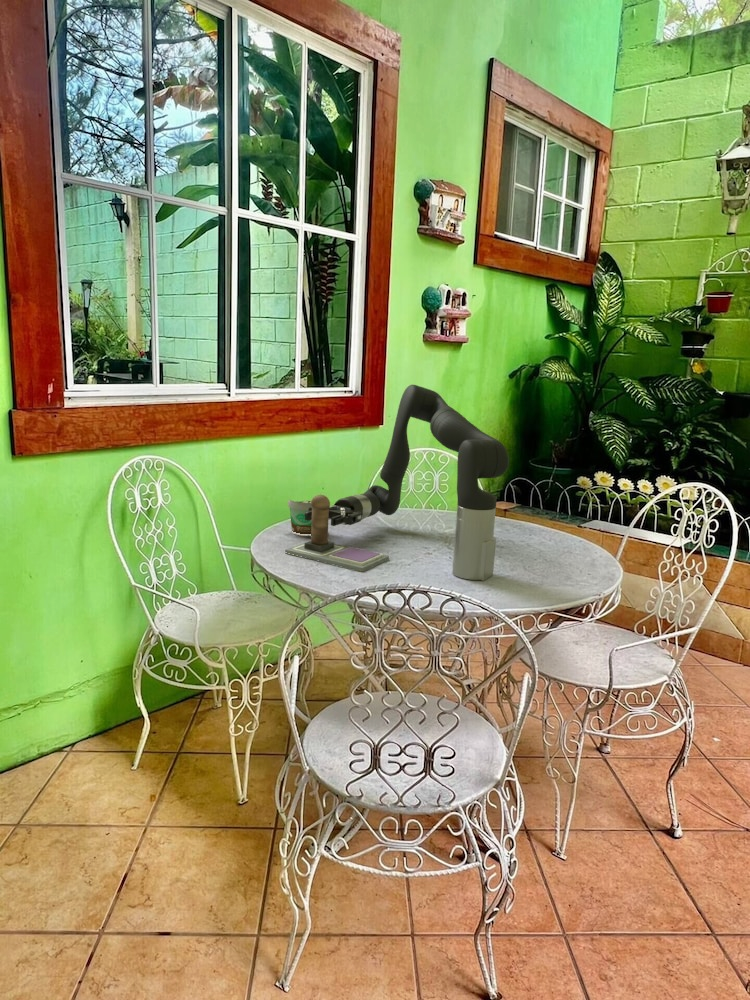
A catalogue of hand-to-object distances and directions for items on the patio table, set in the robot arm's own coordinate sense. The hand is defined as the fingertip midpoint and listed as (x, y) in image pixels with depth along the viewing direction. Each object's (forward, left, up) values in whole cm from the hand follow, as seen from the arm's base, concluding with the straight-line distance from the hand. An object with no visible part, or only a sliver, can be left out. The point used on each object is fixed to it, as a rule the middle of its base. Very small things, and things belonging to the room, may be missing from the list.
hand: (318, 519), depth 169 cm
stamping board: (-6, 0, -9) cm, 11 cm away
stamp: (0, 0, -8) cm, 8 cm away
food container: (+13, -12, -9) cm, 20 cm away
